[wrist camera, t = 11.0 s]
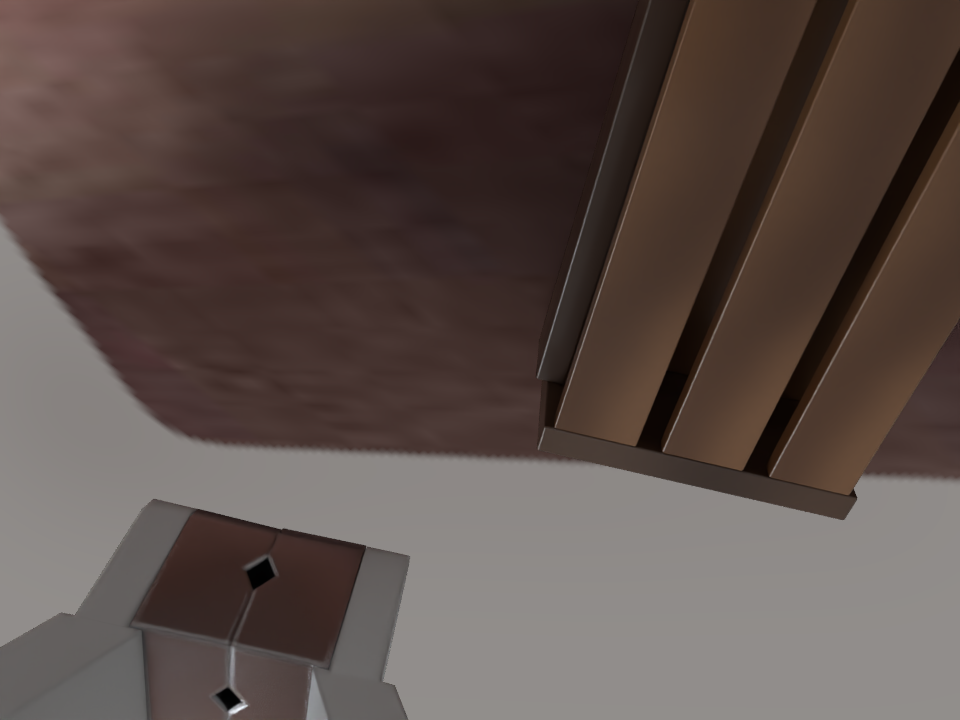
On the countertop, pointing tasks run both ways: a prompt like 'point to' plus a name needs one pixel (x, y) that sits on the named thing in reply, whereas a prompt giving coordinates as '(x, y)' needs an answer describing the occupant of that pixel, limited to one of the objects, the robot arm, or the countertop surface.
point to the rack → (760, 246)
